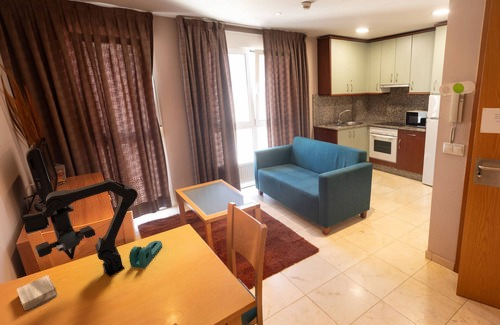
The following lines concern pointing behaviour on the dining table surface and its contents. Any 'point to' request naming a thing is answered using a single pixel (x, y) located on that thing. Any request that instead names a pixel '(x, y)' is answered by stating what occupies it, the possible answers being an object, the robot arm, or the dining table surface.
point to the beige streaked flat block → (36, 292)
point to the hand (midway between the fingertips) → (71, 258)
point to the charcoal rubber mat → (42, 302)
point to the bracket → (144, 254)
